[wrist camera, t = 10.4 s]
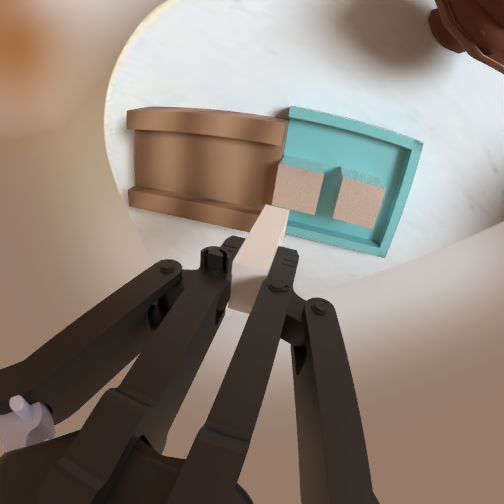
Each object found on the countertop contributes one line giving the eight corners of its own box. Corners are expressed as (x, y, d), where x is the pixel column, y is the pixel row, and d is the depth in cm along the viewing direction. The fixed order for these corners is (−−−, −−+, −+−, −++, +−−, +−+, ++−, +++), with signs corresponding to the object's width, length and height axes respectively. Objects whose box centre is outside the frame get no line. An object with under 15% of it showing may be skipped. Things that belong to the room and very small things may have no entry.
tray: (416, 139, 23) (423, 143, 21) (381, 248, 30) (384, 258, 28) (292, 106, 25) (289, 106, 23) (272, 221, 32) (269, 230, 30)
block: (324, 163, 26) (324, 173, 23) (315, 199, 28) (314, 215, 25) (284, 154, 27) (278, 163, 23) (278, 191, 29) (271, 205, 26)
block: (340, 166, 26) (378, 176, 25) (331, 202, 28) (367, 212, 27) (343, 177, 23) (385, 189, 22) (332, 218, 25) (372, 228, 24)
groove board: (290, 120, 25) (284, 123, 22) (273, 217, 31) (265, 236, 28) (150, 106, 28) (126, 110, 24) (149, 192, 34) (129, 206, 30)
